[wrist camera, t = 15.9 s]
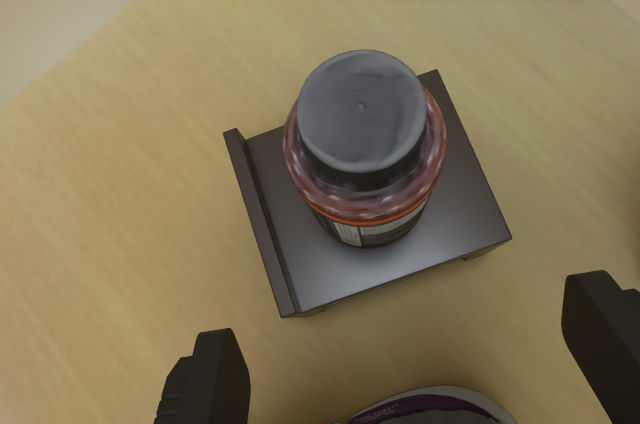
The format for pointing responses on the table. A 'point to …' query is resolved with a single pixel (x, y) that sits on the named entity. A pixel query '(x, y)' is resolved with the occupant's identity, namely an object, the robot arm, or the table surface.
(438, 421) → the running shoe
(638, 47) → the table surface
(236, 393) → the robot arm
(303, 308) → the shelf
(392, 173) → the supplement bottle
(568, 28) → the table surface
